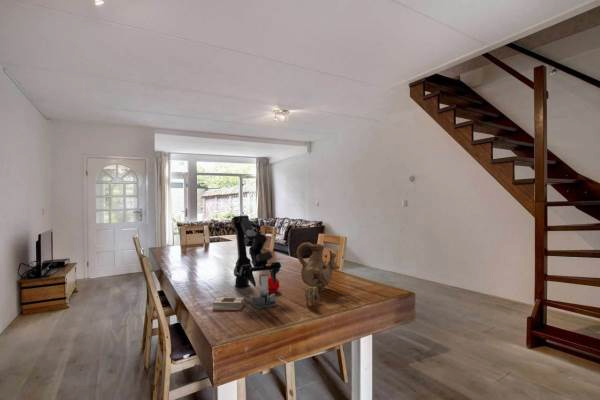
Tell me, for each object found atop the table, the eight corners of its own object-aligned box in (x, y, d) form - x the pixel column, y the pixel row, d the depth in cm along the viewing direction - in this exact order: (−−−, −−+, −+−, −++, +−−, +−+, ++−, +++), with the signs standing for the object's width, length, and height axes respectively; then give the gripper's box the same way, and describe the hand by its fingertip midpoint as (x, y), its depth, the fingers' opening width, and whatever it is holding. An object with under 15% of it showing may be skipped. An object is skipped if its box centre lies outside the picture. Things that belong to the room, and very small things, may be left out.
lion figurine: (315, 309, 131) (314, 288, 131) (302, 308, 133) (302, 287, 133) (320, 298, 146) (320, 279, 146) (309, 298, 147) (309, 279, 147)
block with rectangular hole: (217, 304, 138) (217, 297, 138) (243, 303, 138) (243, 297, 138) (212, 309, 131) (212, 302, 131) (240, 309, 131) (240, 302, 131)
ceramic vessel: (317, 297, 148) (317, 245, 148) (290, 289, 161) (290, 242, 162) (340, 289, 161) (340, 242, 162) (313, 283, 174) (313, 239, 175)
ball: (264, 294, 152) (264, 279, 153) (261, 290, 160) (261, 275, 160) (280, 293, 155) (280, 278, 155) (276, 289, 162) (276, 274, 163)
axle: (261, 299, 140) (261, 274, 140) (269, 300, 139) (269, 274, 138) (258, 303, 136) (257, 276, 136) (266, 303, 135) (266, 277, 135)
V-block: (248, 302, 140) (248, 293, 140) (270, 299, 145) (270, 290, 145) (255, 309, 131) (255, 299, 131) (279, 305, 136) (279, 296, 136)
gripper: (241, 247, 137) (248, 277, 127) (279, 244, 146) (289, 272, 136) (236, 262, 144) (243, 291, 134) (273, 258, 153) (282, 286, 143)
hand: (265, 284), depth 136 cm, fingers open, 9 cm apart
